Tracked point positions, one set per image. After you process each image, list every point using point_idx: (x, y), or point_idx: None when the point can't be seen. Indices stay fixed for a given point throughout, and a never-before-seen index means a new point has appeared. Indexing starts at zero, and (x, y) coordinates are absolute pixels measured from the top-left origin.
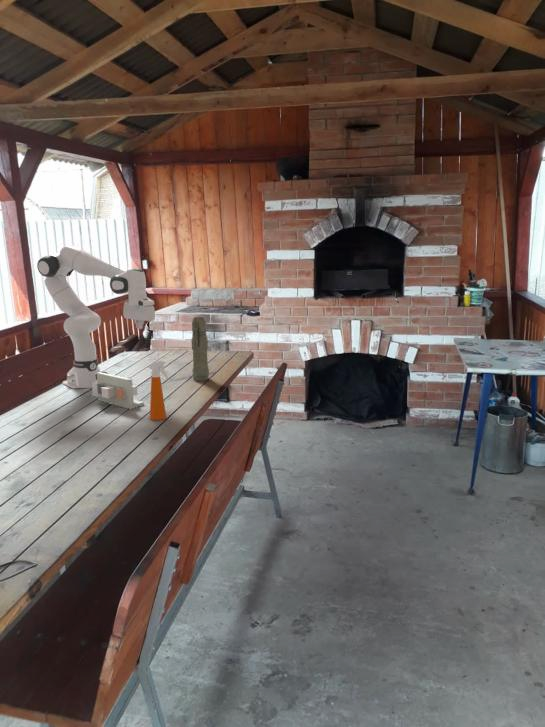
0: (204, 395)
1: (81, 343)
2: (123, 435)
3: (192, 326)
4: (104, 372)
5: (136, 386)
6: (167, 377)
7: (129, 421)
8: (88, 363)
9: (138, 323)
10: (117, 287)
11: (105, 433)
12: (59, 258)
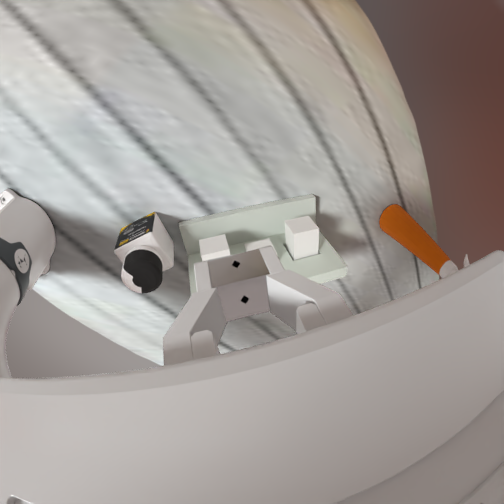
0: (365, 39)
1: (5, 351)
2: (389, 284)
3: None
4: (146, 273)
5: (318, 229)
6: (466, 258)
7: (362, 260)
8: (23, 281)
9: (211, 314)
10: None
11: (365, 299)
12: None
